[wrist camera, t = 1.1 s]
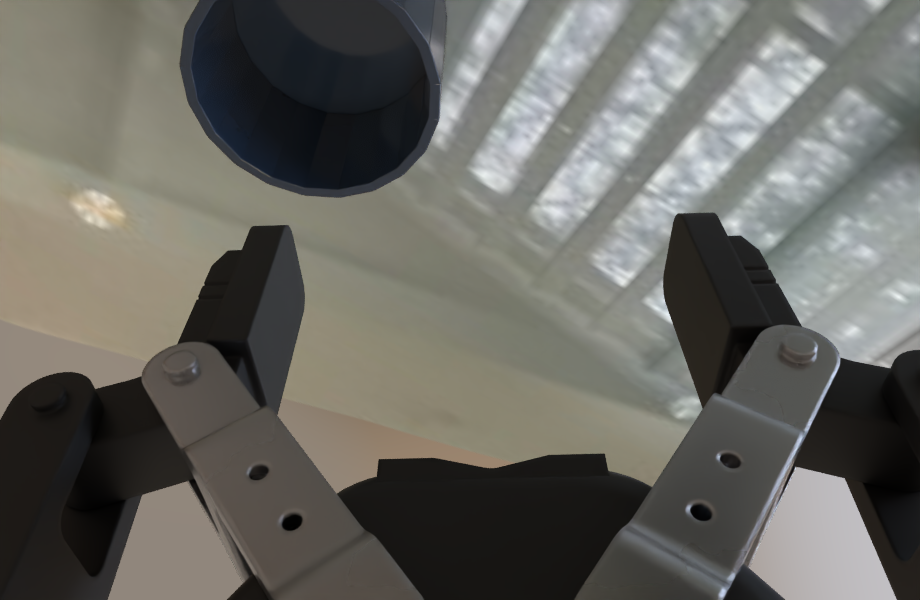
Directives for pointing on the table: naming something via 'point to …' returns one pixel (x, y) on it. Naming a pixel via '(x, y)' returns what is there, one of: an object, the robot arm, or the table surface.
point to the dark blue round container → (317, 87)
